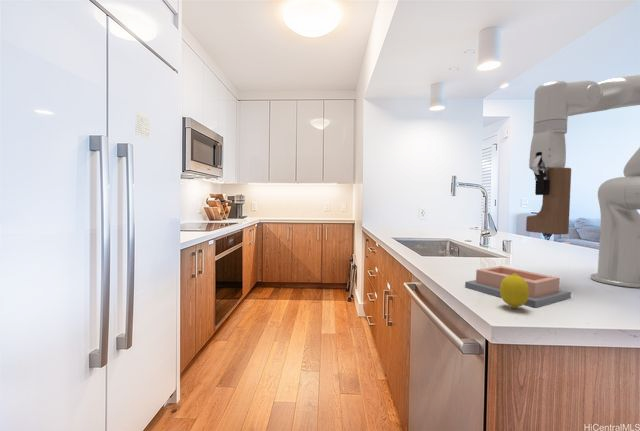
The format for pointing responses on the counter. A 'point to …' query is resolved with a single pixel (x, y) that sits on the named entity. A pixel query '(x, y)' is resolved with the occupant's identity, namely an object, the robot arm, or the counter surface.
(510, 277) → the lemon
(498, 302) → the counter surface
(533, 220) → the wooden block
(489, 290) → the baseplate
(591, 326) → the counter surface
